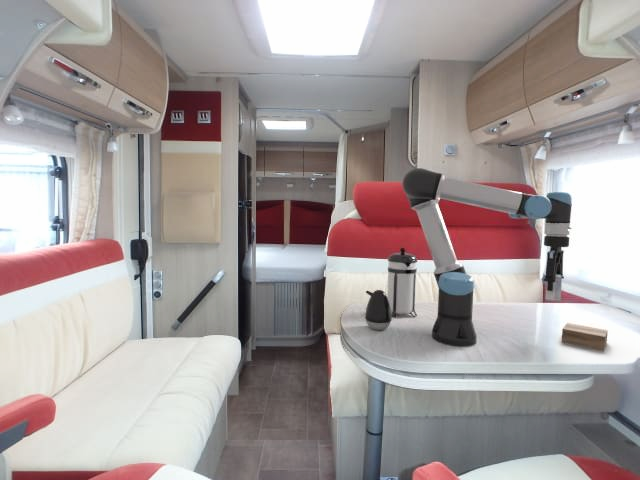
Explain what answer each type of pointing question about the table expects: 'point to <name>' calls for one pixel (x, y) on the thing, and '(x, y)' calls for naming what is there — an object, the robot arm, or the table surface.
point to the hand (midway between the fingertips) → (552, 297)
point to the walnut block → (584, 336)
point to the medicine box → (558, 288)
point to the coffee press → (402, 283)
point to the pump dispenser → (378, 310)
